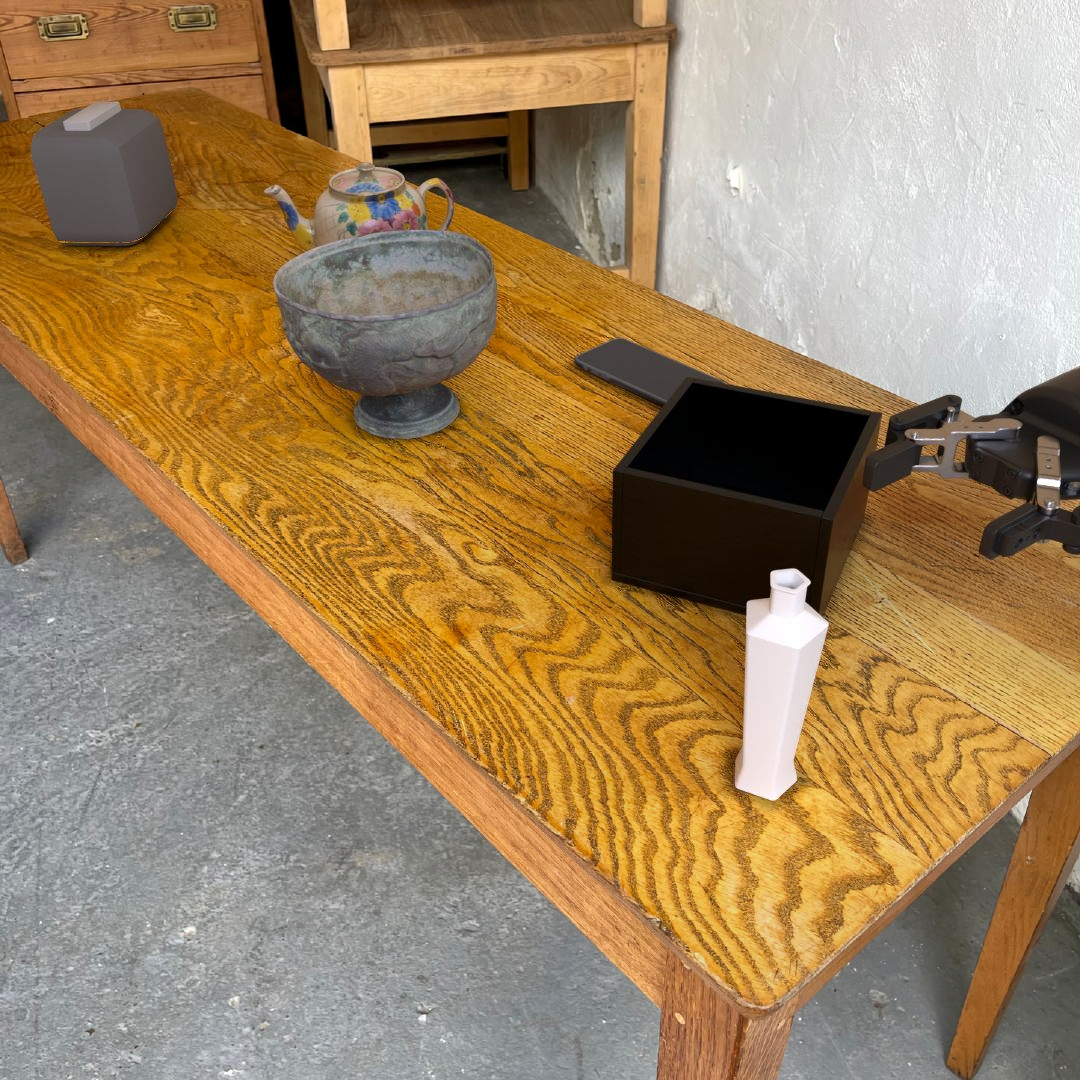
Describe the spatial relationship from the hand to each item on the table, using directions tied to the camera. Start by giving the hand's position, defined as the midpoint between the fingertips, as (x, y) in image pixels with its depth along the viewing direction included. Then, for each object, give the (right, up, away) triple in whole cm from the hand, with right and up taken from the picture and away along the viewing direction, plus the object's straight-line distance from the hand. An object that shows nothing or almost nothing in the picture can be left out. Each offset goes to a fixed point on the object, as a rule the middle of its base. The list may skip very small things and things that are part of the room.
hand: (924, 508), depth 64 cm
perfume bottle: (-9, -16, +4) cm, 19 cm away
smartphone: (-11, +14, +46) cm, 50 cm away
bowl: (-35, +10, +42) cm, 56 cm away
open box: (-6, -3, +23) cm, 24 cm away
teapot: (-43, +30, +71) cm, 88 cm away
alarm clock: (-78, +40, +86) cm, 123 cm away
